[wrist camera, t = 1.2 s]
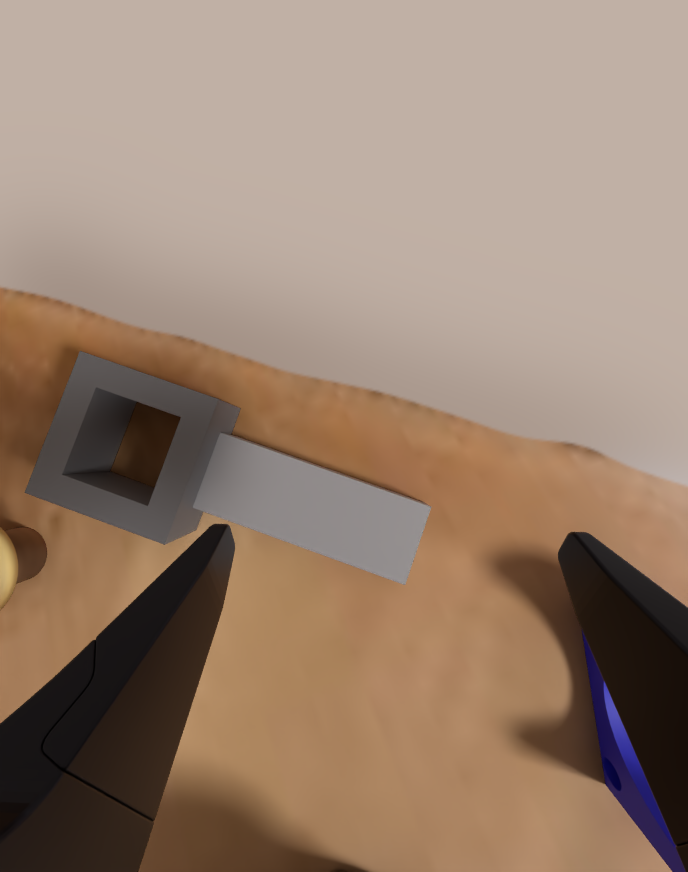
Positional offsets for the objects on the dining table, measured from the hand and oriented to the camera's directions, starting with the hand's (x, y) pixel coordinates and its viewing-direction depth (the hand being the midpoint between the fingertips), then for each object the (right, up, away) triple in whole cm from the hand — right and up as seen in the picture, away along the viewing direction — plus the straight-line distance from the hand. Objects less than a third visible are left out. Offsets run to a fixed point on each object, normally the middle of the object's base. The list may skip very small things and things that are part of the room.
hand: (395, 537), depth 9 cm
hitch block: (-8, 0, +15) cm, 16 cm away
